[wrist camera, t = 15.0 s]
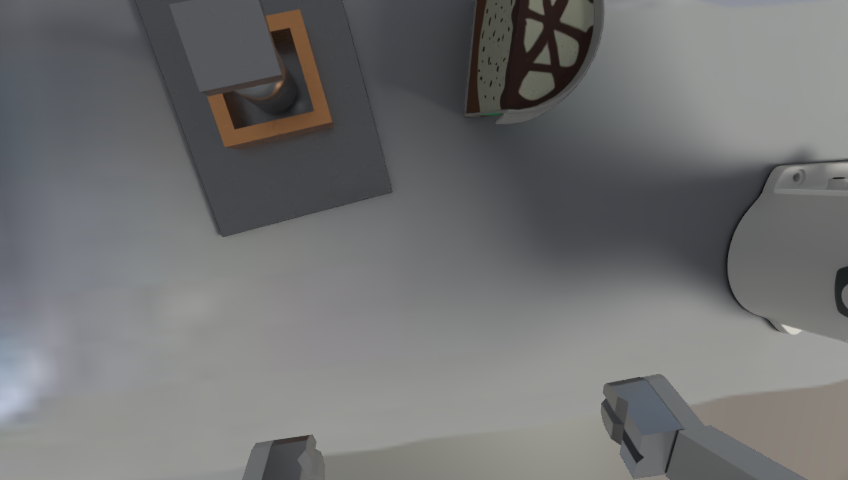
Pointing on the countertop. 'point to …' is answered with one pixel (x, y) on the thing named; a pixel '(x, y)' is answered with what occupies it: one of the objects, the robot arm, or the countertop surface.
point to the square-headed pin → (234, 51)
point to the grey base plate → (278, 121)
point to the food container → (529, 55)
